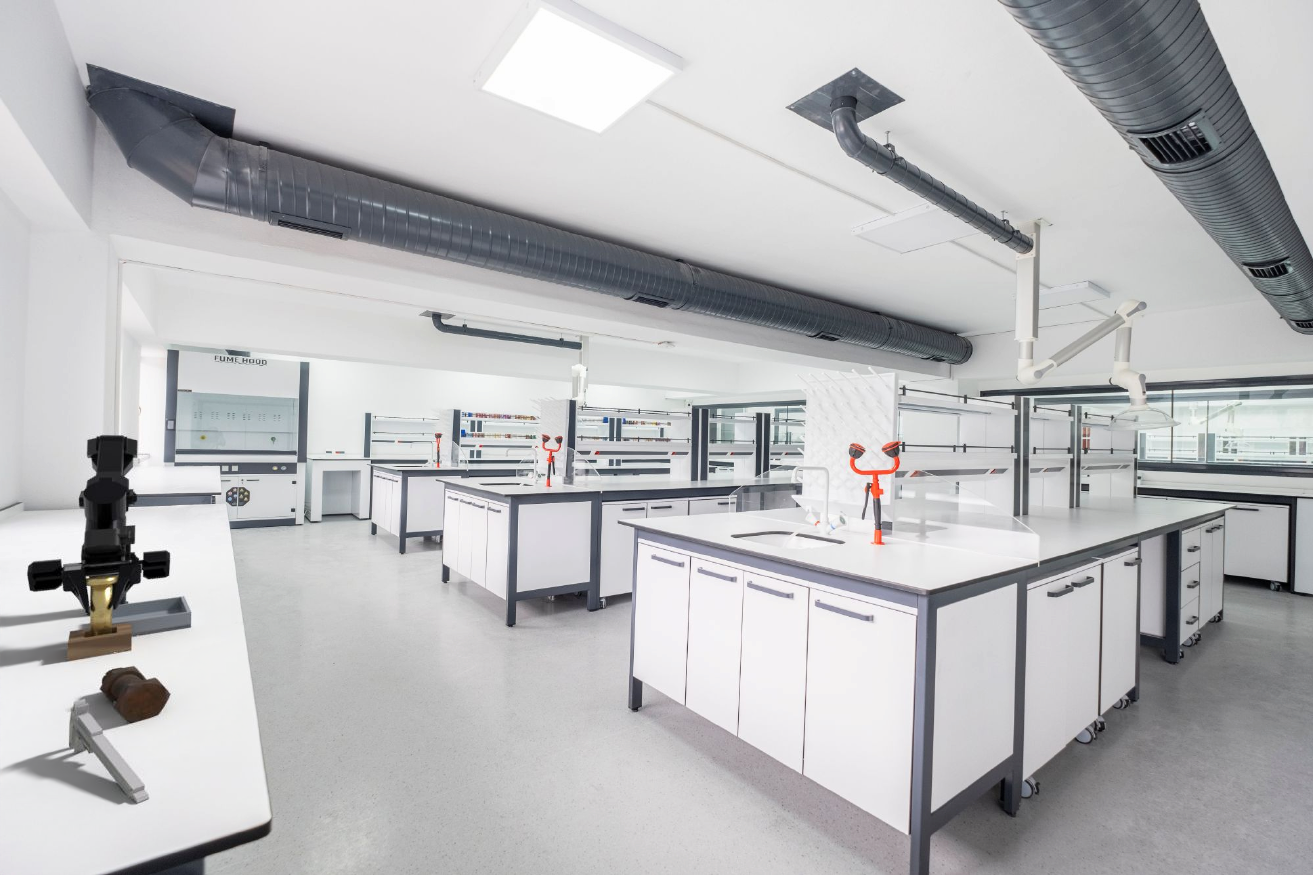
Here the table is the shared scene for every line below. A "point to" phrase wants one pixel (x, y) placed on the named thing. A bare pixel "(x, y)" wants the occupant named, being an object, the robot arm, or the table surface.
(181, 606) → the tray
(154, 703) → the bolt
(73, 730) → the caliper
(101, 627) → the pin
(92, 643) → the block
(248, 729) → the table surface
